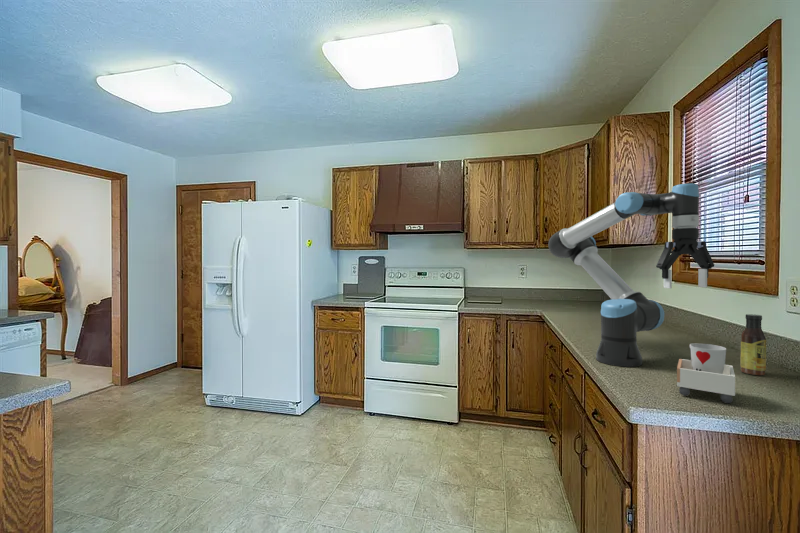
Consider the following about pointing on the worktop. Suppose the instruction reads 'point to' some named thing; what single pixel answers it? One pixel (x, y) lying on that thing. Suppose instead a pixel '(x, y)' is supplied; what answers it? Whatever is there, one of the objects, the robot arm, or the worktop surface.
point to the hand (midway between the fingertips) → (685, 287)
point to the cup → (707, 357)
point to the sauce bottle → (753, 347)
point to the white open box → (706, 380)
